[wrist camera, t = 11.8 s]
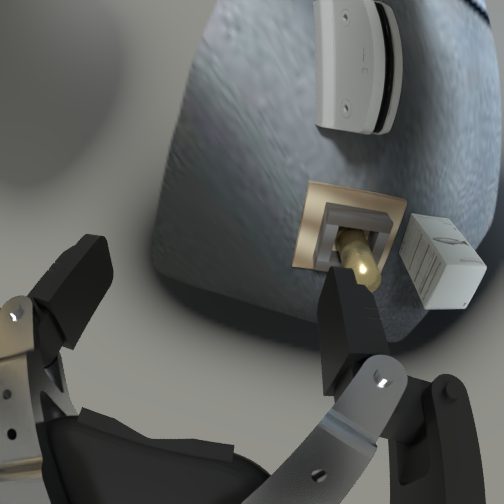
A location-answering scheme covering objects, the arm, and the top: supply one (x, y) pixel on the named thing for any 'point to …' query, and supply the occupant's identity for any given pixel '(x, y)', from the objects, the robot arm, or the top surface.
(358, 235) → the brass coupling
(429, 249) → the supplement box
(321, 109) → the white black curved block
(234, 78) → the top surface
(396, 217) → the socket board
